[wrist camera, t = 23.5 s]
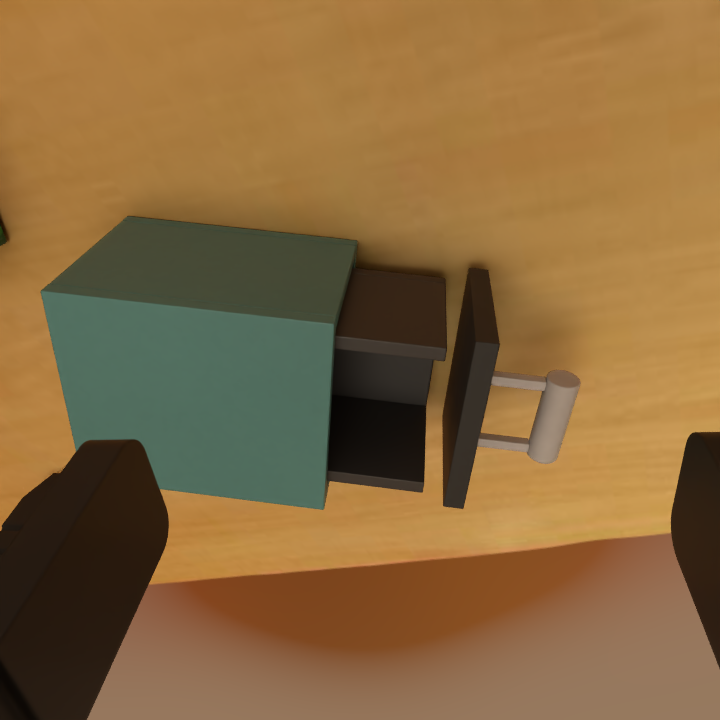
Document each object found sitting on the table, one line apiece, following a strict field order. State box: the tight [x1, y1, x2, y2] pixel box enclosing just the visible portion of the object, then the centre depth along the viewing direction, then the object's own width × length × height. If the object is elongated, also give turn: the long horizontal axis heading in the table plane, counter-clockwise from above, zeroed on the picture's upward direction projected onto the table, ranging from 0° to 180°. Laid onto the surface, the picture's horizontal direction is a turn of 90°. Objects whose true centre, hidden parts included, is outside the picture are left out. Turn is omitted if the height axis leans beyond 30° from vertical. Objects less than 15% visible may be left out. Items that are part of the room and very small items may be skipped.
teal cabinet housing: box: [41, 216, 357, 510], centre depth 39 cm, size 15×13×11 cm
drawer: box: [327, 268, 580, 509], centre depth 39 cm, size 19×11×9 cm, turn 86°
